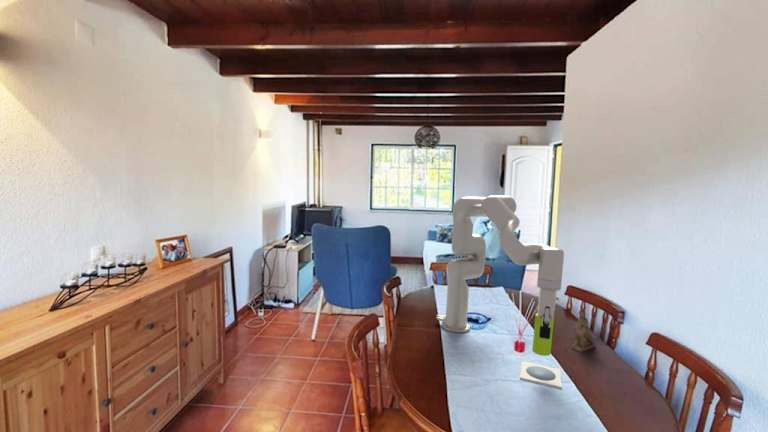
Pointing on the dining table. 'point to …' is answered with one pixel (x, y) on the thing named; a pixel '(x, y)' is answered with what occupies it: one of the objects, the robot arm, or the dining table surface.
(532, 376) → the card
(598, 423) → the dining table surface
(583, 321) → the brown carved statuette
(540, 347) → the soap dispenser
